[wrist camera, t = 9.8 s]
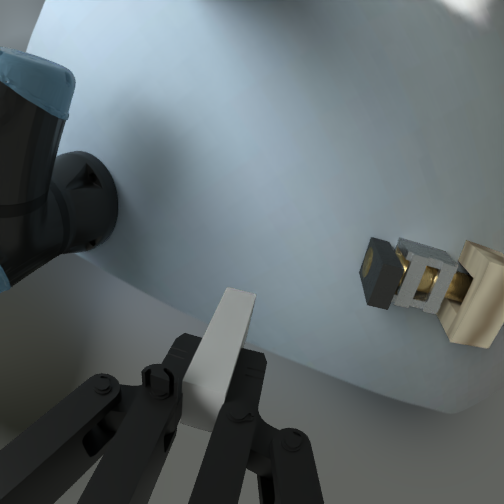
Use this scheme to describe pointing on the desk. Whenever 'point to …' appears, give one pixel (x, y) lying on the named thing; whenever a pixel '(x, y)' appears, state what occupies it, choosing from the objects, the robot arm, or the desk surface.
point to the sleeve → (414, 272)
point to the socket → (477, 299)
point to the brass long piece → (399, 276)
